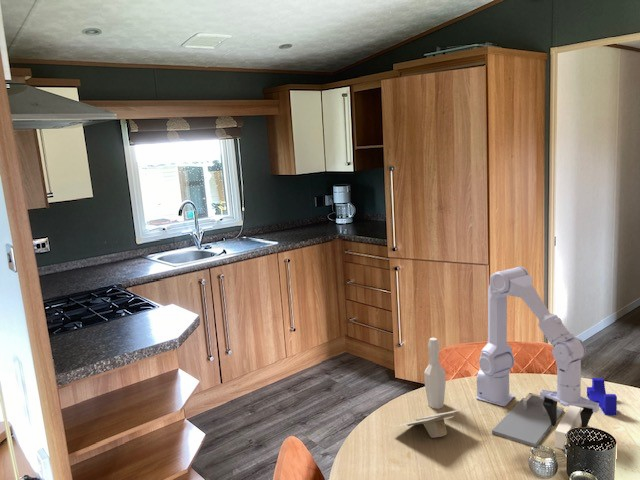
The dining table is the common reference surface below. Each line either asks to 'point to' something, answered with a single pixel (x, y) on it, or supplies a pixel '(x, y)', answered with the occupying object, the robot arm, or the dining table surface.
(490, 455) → the dining table surface
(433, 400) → the low poly bottle
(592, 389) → the blue stepped block
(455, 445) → the dining table surface
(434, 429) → the tilted plate on foot
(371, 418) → the dining table surface
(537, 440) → the grey base plate
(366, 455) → the dining table surface
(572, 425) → the white rail
